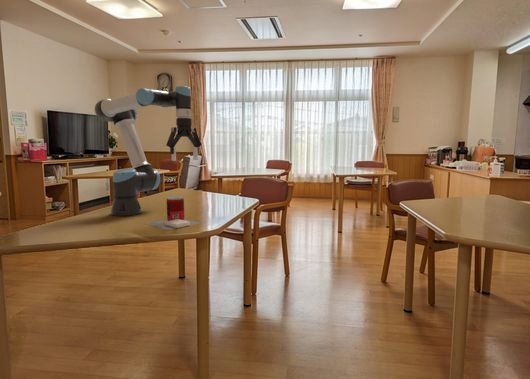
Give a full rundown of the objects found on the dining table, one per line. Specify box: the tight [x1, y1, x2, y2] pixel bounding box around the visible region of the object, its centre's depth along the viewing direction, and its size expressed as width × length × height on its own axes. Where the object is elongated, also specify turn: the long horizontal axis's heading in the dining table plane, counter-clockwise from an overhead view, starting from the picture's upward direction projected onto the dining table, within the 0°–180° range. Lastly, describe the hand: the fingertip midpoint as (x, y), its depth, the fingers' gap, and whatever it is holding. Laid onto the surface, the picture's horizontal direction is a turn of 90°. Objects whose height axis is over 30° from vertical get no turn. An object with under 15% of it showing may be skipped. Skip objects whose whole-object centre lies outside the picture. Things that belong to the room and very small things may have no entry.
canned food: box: [166, 195, 185, 221], centre depth 175 cm, size 8×8×11 cm
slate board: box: [146, 218, 201, 231], centre depth 168 cm, size 18×18×1 cm
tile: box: [165, 219, 190, 229], centre depth 165 cm, size 2×7×9 cm
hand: (185, 160), depth 189 cm, fingers open, 13 cm apart
